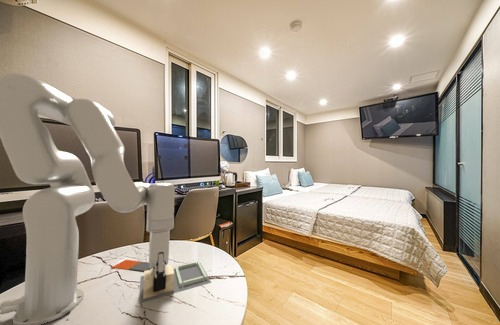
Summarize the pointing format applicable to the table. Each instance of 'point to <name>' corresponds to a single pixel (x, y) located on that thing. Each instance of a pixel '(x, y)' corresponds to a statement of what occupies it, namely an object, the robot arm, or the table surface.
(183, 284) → the mat
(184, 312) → the table surface
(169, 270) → the card box
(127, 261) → the phone
